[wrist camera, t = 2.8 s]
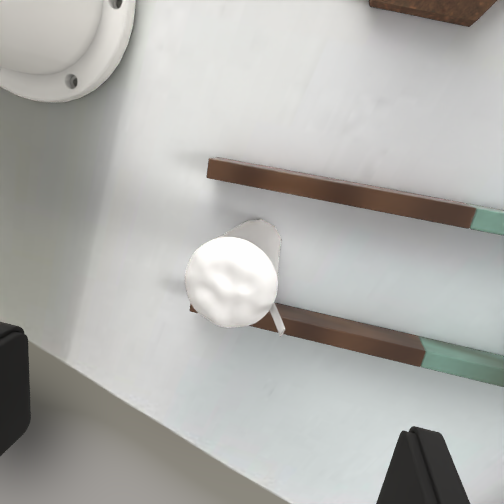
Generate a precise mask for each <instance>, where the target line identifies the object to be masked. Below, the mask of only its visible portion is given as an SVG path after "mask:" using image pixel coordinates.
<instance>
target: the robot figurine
mask: <svg viewBox="0 0 504 504" xmlns="http://www.w3.org/2000/svg"><path fill="white" fill-rule="evenodd" d="M496 1H497V0H369V4H370V6H371V7H376V8H380V9H385V10H390V11H395V12H400V13H405V14H410V15H414V16H419V17H424V18H429V19H434V20H439V21H444V22H448V23H453V24H458V25H463V26H468V27H470V26H471V25H472V24H473V23H475V22H476V21H477V20H478V19H479V18H480V17H481V16H482V15H483V14H484V13H485V12H486V11H487V10H488V9H489V8H490V7H491V6H492V5H493V4H494V3H495V2H496Z"/></svg>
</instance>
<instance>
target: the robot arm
mask: <svg viewBox="0 0 504 504" xmlns="http://www.w3.org/2000/svg"><path fill="white" fill-rule="evenodd" d="M121 2H122V5H121V7H120V3H121ZM135 3H136V0H0V87H2V88H4V89H5V90H7V91H9V92H11V93H13V94H15V95H17V96H20V97H23V98H27V99H30V100H34V101H41V102H49V103H55V102H68V101H71V100H75V99H78V98H81V97H83V96H85V95H87V94H89V93H90V92H92V91H94V90H96V89H97V88H98V87H99V86H100V85H101V84H102V83H103V82H105V81H106V80H107V79H108V78H109V77H110V75H111V74H112V72H113V71H114V70H115V68H116V67H117V66H118V64H119V63H120V61H121V59H122V56H123V54H124V52H125V50H126V48H127V46H128V43H129V39H130V35H131V31H132V28H133V24H134V14H135ZM77 82H78V83H77ZM30 416H31V415H30V386H29V357H28V338H27V336H26V335H25V334H24V331H23V329H22V328H21V327H19V326H15V325H11V324H7V323H3V322H0V456H1V455H2V454H3V453H4V452H5V451H6V450H7V449H8V448H9V447H10V446H11V445H12V444H13V443H15V442H16V440H18V439H19V438H20V437H21V436H22V435H23V433H25V431H26V430H27V428H28V426H29V423H30V418H31V417H30ZM376 504H470V502H469V500H468V497H467V495H466V492H465V490H464V487H463V485H462V482H461V480H460V477H459V475H458V473H457V470H456V468H455V465H454V463H453V460H452V458H451V455H450V453H449V450H448V448H447V445H446V443H445V440H444V438H443V436H442V434H440V433H439V432H435V431H431V430H427V429H423V428H419V427H415V426H413V427H411V428H410V430H409V432H407V431H402V432H401V433H400V436H399V439H398V442H397V444H396V447H395V450H394V453H393V456H392V459H391V462H390V465H389V468H388V471H387V474H386V477H385V480H384V483H383V486H382V489H381V491H380V494H379V497H378V500H377V503H376Z"/></svg>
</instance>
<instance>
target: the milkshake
mask: <svg viewBox="0 0 504 504" xmlns="http://www.w3.org/2000/svg"><path fill="white" fill-rule="evenodd" d="M281 241H282V239H281V237H280V235H279V233H278V231H277V229H276V227H275V226H274V225H272V224H270V223H268V222H266V221H264V220H262V219H257V220H250V221H245V222H244V223H242V224H240V225H239V226H237V227H235V228H233V229H232V230H230V231H228V232H227V233H225V234H223V235H221V236H219V237H217V238H215V239H212V240H210V241H208V242H207V243H205V244H203V245H202V246H200V247H199V248H198V249H197V250H196V251H195V252H194V253H193V255H192V256H191V258H190V260H189V262H188V265H187V268H186V273H185V285H186V291H187V295H188V298H189V301H190V303H191V305H192V306H193V308H194V309H195V310H196V311H197V312H198V313H199V314H200V315H201V316H203V317H204V318H206V319H207V320H209V321H210V322H212V323H213V324H215V325H217V326H220V327H225V328H233V327H243V326H249V325H252V324H254V323H256V322H258V321H259V320H260V319H262V318H263V317H264V316H265V315H266V314H267V313H268V311H269V310H270V312H271V315H272V317H273V320H274V322H275V325H276V327H277V330H278V332H279V335H280V336H282V335H283V333H284V331H285V326H284V324H283V321H282V319H281V317H280V314H279V312H278V310H277V307H276V305H275V303H274V301H275V298H276V295H277V290H278V266H279V255H280V248H281Z"/></svg>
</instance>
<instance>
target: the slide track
mask: <svg viewBox="0 0 504 504" xmlns="http://www.w3.org/2000/svg"><path fill="white" fill-rule="evenodd" d="M207 178H210V179H215V180H220V181H225V182H230V183H235V184H240V185H246V186H251V187H256V188H261V189H266V190H271V191H277V192H282V193H287V194H292V195H297V196H302V197H308V198H313V199H318V200H323V201H328V202H333V203H339V204H344V205H349V206H354V207H359V208H364V209H370V210H375V211H380V212H385V213H390V214H395V215H400V216H406V217H411V218H416V219H421V220H426V221H431V222H437V223H442V224H447V225H452V226H457V227H462V228H468V229H469V228H470V229H473V230H478V231H483V232H489V233H494V234H499V235H504V210H500V209H494V208H489V207H484V206H478V205H473V204H467V203H462V202H457V201H451V200H446V199H441V198H435V197H430V196H424V195H419V194H414V193H408V192H403V191H398V190H392V189H387V188H381V187H376V186H371V185H365V184H360V183H354V182H349V181H344V180H338V179H333V178H328V177H322V176H317V175H311V174H306V173H301V172H295V171H290V170H284V169H279V168H274V167H268V166H263V165H258V164H252V163H247V162H241V161H236V160H231V159H225V158H220V157H216V158H209V162H208V170H207ZM275 305H276V307H277V310H278V312H279V314H280V317H281V319H282V321H283V324H284V326H285V331H284V333H283V334H286V335H290V336H294V337H298V338H302V339H306V340H311V341H315V342H319V343H323V344H327V345H331V346H335V347H339V348H344V349H348V350H352V351H356V352H360V353H364V354H368V355H373V356H377V357H381V358H385V359H389V360H393V361H397V362H401V363H406V364H410V365H414V366H418V367H420V366H421V367H423V368H427V369H431V370H435V371H440V372H444V373H448V374H452V375H456V376H460V377H464V378H468V379H473V380H477V381H481V382H485V383H489V384H493V385H497V386H501V387H504V356H501V355H497V354H493V353H488V352H484V351H480V350H475V349H471V348H467V347H463V346H458V345H454V344H450V343H445V342H441V341H437V340H432V339H428V338H424V337H419V336H416V335H412V334H407V333H403V332H399V331H394V330H390V329H386V328H382V327H377V326H373V325H369V324H364V323H360V322H356V321H351V320H347V319H343V318H338V317H334V316H330V315H325V314H321V313H317V312H313V311H308V310H304V309H300V308H295V307H291V306H287V305H282V304H278V303H275ZM190 311H191V312H195V313H198V312H197V311H196V310H195V309H194V308H193V306H192V305H191V304H190ZM249 326H253V327H257V328H261V329H265V330H269V331H273V332H278V330H277V327H276V325H275V322H274V320H273V317H272V315H271V312H270V310H269V311H268V313H267V314H266V315H265V316H264V317H263V318H262V319H260V320H259V321H258V322H256V323H254V324H252V325H249ZM278 333H279V332H278Z"/></svg>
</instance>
